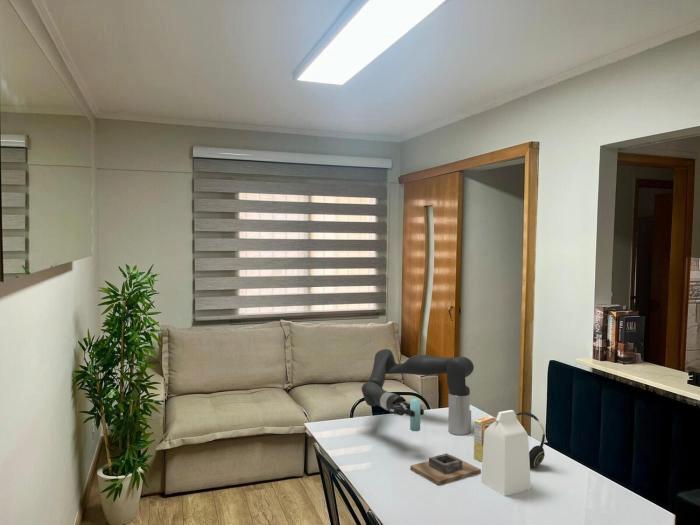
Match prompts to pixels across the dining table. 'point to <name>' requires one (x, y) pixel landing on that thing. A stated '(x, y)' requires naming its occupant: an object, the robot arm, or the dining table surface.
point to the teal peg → (416, 419)
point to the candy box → (480, 435)
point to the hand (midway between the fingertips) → (418, 413)
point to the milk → (506, 455)
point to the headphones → (536, 452)
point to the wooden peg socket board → (445, 469)
